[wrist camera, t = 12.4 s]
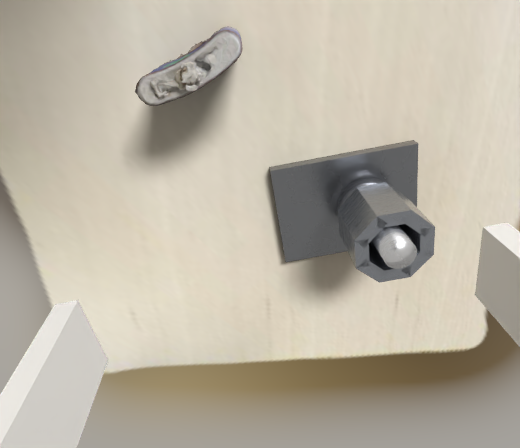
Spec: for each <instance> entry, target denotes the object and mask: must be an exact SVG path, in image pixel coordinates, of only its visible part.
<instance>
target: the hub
mask: <svg viewBox="0 0 520 448" xmlns="http://www.w3.org/2000/svg"><path fill="white" fill-rule="evenodd" d="M338 221H339V233H340V236H341V238H342V240H343V242H344V244H345V246H346V249H347V251H348V253H349V255H350V257H351V259H352V261H353V263H354V265H355V267H356V269H358V270H360V271H361V272H363V273H365V274H366V275H368V276H370V277H371V278H373V279H374V280H376V281H378V282H384V281H390V280H396V279H401V278H407V277H411V276H412V275H413V274H414V273H415V272H416V271H417V270H418V269H419V268H420V267H421V266H422V265H423V264H424V263H425V262H426V261H427V260H428V259H430V258H431V257H432V256H433V255H434V236H435V226H434V225H433V224H432V223H431V222H430V221H429V220H428V219H427V218H426V217H425V216H424V215H423V214H422V213H421V211H420V210H419V209H418V208H417V207H416V206H415V205H414V204H413V203H412V202H411V201H410V200H409V199H408V198H407V197H406V196H405V195H403V194H402V193H401V192H399V191H398V190H396V189H395V188H394V187H392V186H391V185H389V184H388V183H387V182H384V183H379V184H373V185H368V186H362V187H357V188H356V189H355V190H354V191H353V192H352V194H351V195H350V196H349V197H348V198H347V199H346V201H345V202H344V203H343V204H342V205H341V206H340V207H339V209H338ZM396 225H399V226H400V227H401V228H402V230H403V231H404V232H405V233H406V235H407V236H408V237H409V239H410V240H411V241H412V242H413V244H414V245H415V246H416V248H417V255H416V258H415V260H414V261H413V262H412V263H411V264H410V265H408V266H407V267H404V268H401V269H394V268H390V267H389V266H387V265H386V263H385V262H384V260H383V258H382V257H381V255H380V254H379V252H378V250H377V249H376V247H375V245H374V244H373V242H372V239H373V238H374V237H375V236H376V235H377V234H378V233H379V232H380V231H381V230H382V229H383V228H385V227H390V226H396Z"/></svg>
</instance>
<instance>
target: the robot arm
mask: <svg viewBox="0 0 520 448" xmlns="http://www.w3.org/2000/svg"><path fill="white" fill-rule="evenodd" d="M475 295H476V297H477V298H478V299H479V300H480V301H481V302H482V304H483V305H484V306H485V307H486V308H487V309H488V311H489V312H490V313H491V314H492V315H493V316H494V318H495V319H496V320H497V321H498V322H499V323H500V324H501V326H502V327H503V328H504V329H505V330H506V331H507V332H508V334H509V335H510V336H511V337H512V338H513V340H514V341H515V342H516V343H517V344H518V345H519V347H520V232H519V231H518V230H516V229H515V228H514V227H512V226H511V225H510V224H509V223H502V224H497V225H491V226H486V227H483V231H482V240H481V248H480V257H479V266H478V274H477V283H476V292H475ZM107 362H108V358H107V356H106V354H105V352H104V350H103V348H102V346H101V344H100V342H99V340H98V338H97V336H96V334H95V332H94V330H93V328H92V327H91V325H90V323H89V321H88V319H87V317H86V315H85V313H84V311H83V309H82V307H81V305H80V303H79V301H78V300H76V301H71V302H65V303H60V304H55V305H54V307H53V309H52V310H51V312H50V314H49V315H48V317H47V319H46V320H45V322H44V324H43V325H42V327H41V328H40V330H39V332H38V333H37V335H36V337H35V338H34V340H33V342H32V343H31V345H30V347H29V348H28V350H27V351H26V353H25V355H24V357H23V358H22V360H21V362H20V363H19V365H18V366H17V368H16V370H15V371H14V373H13V374H12V376H11V378H10V379H9V381H8V383H7V384H6V386H5V388H4V389H3V391H2V393H1V394H0V448H77V446H78V443H79V440H80V438H81V435H82V432H83V429H84V426H85V423H86V421H87V418H88V415H89V412H90V410H91V407H92V404H93V401H94V398H95V395H96V393H97V390H98V387H99V384H100V381H101V379H102V376H103V373H104V370H105V368H106V365H107Z"/></svg>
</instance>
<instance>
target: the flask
mask: <svg viewBox="0 0 520 448" xmlns="http://www.w3.org/2000/svg"><path fill="white" fill-rule="evenodd" d="M241 53H242V42H241V37H240V34H239V32H238V31H237V30H236V29H235V28H232V27H228V26H227V27H223V28H221V29H220V30H219V31H216V32H215V33H214V35H212V37H211V38H209V39H207V41H204V42H202V41H201V42H200V43H199V44H195V46H193V47H192V48H191V50H190V51H189V52H188V53H187V54H185V55H182V54H181V56H180V57H179V58H178V59H176V60H172V61H171V60H170V61H169V62H167V63H165V64H163V65H161V66H160V67H159V68H157V69H155V70H153V71H152V72H151V73H149V74H147V75H145V76H143V77H142V78H141V79H140V80H139V82H138V83H137V85H136V90H135V92H136V93H137V95H138V97H139V98H140V99H141V100H142V101H143V102H144V103H145V104H147V105H151V106H157V105H161V104H164V103H167V102H170V101H173V100H175V99H178V98H182V97H184V96H186V95H188V94H190V93H192V92H194V91H196V90H198V89H199V88H201V87H203V86H204V85H206V84H208V83H209V82H211V81H212V80H214V79H215V78H216V77H218V76H219V75H220V74H222V73H223V72H224V71H225V70H226V69H227V68H229V67H230V66H231V65H232V64H233V63H234V62H236V61H237V59H238V58H239V56H240V55H241Z"/></svg>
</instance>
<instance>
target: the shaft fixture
mask: <svg viewBox="0 0 520 448" xmlns="http://www.w3.org/2000/svg"><path fill="white" fill-rule="evenodd" d="M269 168H270V174H271V180H272V186H273V191H274V197H275V203H276V209H277V215H278V221H279V226H280V232H281V238H282V244H283V250H284V255H285V260H286V262H290V261H295V260H301V259H306V258H312V257H317V256H323V255H328V254H334V253H340V252H345V251H347V249H346V246H345V244H344V242H343V240H342V238H341V236H340V233H339V221H338V209H339V207H340V206H341V205H342V204H343V203H344V202H345V201H346V199H347V198H348V197H349V196H350V195H351V194H352V192H353V191H354V190H355V189H356V188H357V187H362V186H368V185H373V184H379V183H384V182H387V183H388V184H389V185H391V186H392V187H394V188H395V189H396V190H398V191H399V192H401V193H402V194H403V195H405V196H406V197H407V198H408V199H409V200H410V201H411V202H412V203H413V204H414V205H415V206H416V207H417V172H418V143H417V142H415V141H414V140H413V141H407V142H402V143H397V144H391V145H386V146H381V147H375V148H370V149H364V150H359V151H354V152H348V153H343V154H338V155H332V156H327V157H322V158H316V159H311V160H306V161H300V162H295V163H290V164H284V165H279V166H274V167H269ZM372 242H373V244H374V245H375V247H376V249H377V250H378V252H379V254H380V255H381V257H382V258H383V260H384V262H385V263H386V265H387V266H389V267H390V268H394V269H401V268H404V267H407V266H408V265H410V264H411V263H412V262H413V261H414V260H415V258H416V255H417V248H416V246H415V245H414V244H413V242H412V241H411V240H410V239H409V237H408V236H407V235H406V233H405V232H404V231H403V230H402V228H401V227H400V226H399V225H396V226H390V227H385V228H383V229H382V230H381V231H380V232H379V233H378V234H377V235H376V236H375V237H374V238H373V239H372Z"/></svg>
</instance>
